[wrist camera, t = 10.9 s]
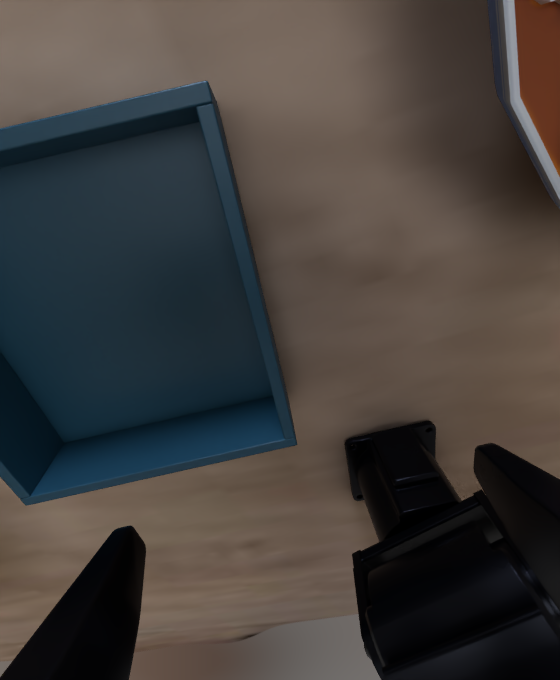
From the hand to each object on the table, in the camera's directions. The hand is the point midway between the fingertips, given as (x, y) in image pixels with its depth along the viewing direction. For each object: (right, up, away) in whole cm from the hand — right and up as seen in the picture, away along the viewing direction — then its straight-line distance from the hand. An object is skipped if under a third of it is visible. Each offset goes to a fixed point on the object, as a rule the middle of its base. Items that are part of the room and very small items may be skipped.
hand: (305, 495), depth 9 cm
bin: (-9, +6, +10) cm, 14 cm away
